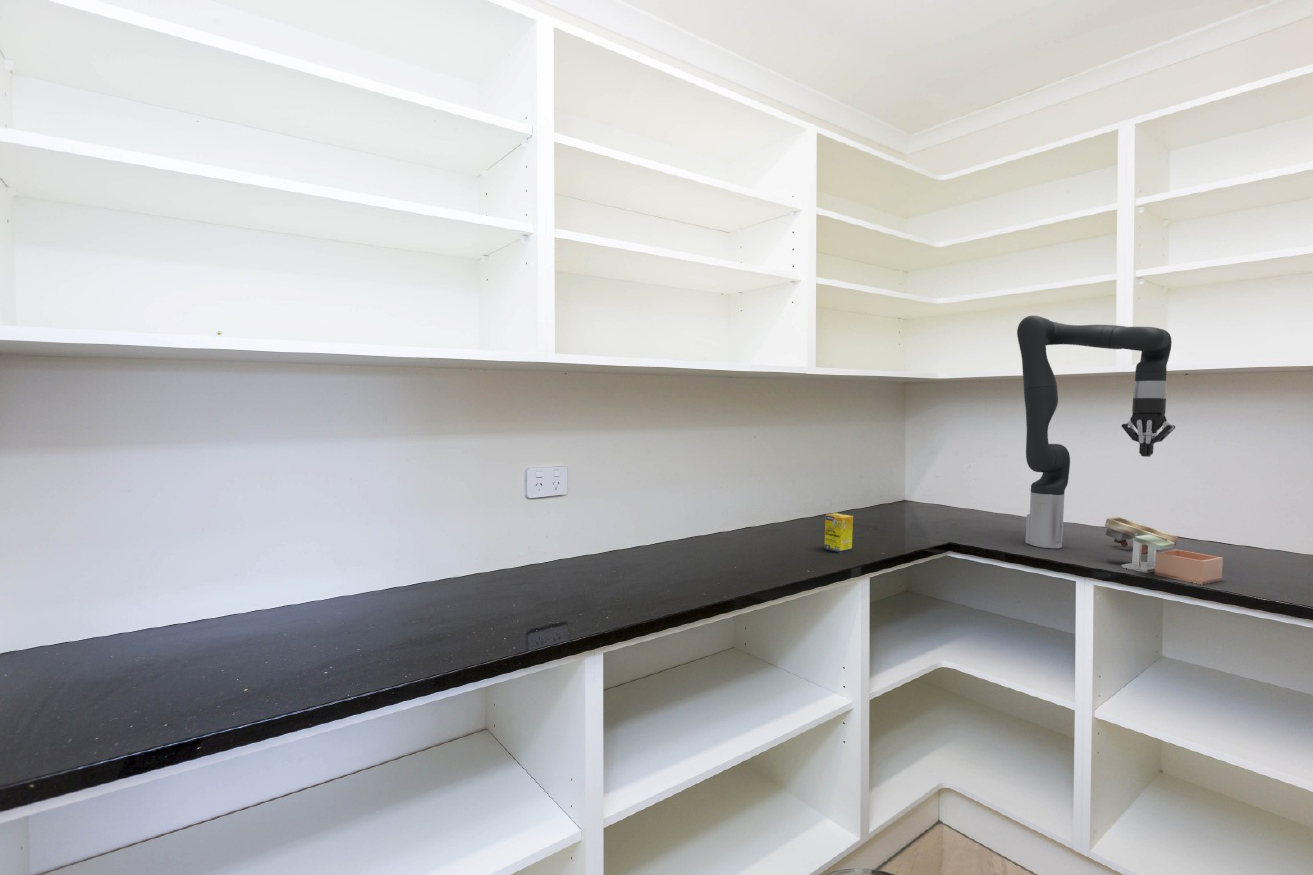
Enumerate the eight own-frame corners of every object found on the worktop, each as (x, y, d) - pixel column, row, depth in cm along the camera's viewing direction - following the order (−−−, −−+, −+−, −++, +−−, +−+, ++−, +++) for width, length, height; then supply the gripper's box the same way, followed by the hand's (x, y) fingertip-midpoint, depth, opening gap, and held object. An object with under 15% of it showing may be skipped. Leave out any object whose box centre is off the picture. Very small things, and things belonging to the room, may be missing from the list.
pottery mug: (1134, 555, 186) (1120, 530, 190) (1116, 562, 195) (1103, 537, 198) (1172, 546, 186) (1158, 521, 189) (1153, 553, 194) (1139, 529, 198)
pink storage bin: (1154, 574, 162) (1155, 552, 162) (1174, 570, 166) (1175, 549, 166) (1202, 584, 153) (1203, 561, 152) (1221, 580, 157) (1222, 557, 157)
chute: (1088, 535, 172) (1093, 520, 171) (1114, 532, 178) (1118, 517, 177) (1155, 561, 157) (1161, 544, 156) (1181, 556, 163) (1187, 540, 162)
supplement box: (824, 549, 186) (825, 514, 185) (836, 547, 189) (837, 512, 189) (840, 553, 181) (841, 517, 180) (852, 551, 184) (853, 515, 184)
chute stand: (1121, 567, 169) (1123, 531, 168) (1141, 563, 173) (1143, 528, 173) (1146, 573, 163) (1148, 535, 163) (1166, 569, 168) (1168, 532, 168)
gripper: (1116, 396, 179) (1113, 455, 180) (1169, 396, 167) (1166, 458, 168) (1130, 397, 182) (1127, 454, 183) (1183, 397, 170) (1180, 458, 171)
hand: (1146, 456), depth 175 cm, fingers closed
